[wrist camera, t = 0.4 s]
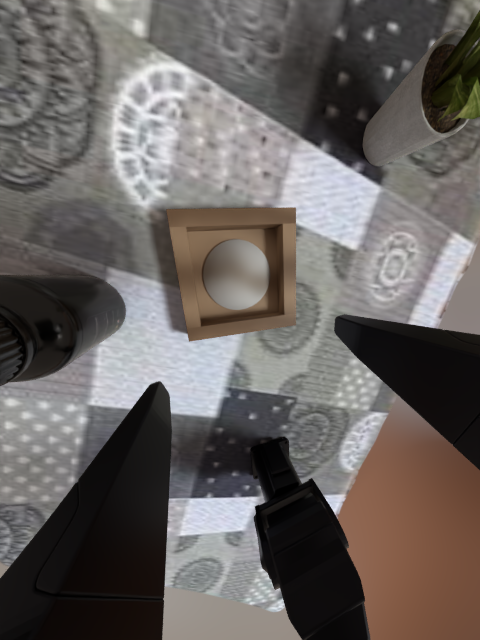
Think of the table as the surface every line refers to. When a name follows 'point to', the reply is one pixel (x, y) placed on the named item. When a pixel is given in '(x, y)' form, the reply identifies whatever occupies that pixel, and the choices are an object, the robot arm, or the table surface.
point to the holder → (235, 269)
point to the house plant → (429, 99)
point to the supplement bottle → (53, 322)
